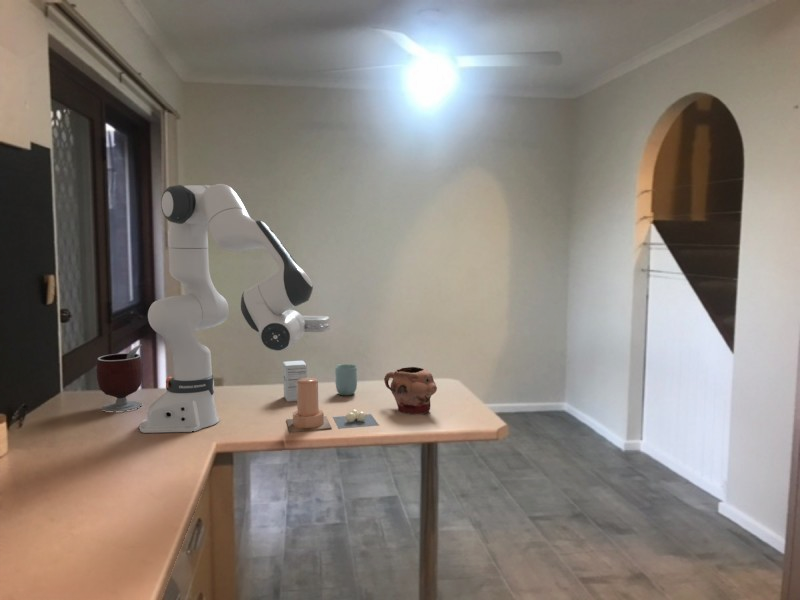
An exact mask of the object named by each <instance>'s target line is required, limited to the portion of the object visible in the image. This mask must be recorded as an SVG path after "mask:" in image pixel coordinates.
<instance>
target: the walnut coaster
mask: <svg viewBox="0 0 800 600" xmlns="http://www.w3.org/2000/svg"><path fill="white" fill-rule="evenodd" d="M286 423H287V424H286V425H287V428H288V432H289V433H301V432H302V433H304V432H315V431H328V430H332V426H331V423H330V421H329V418H328V417H327V416H324V424H322V425H321V426H318V427H314V428H298V427H295V426H293V418H288V419H287V418H286Z"/></svg>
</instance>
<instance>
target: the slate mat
mask: <svg viewBox="0 0 800 600" xmlns="http://www.w3.org/2000/svg"><path fill="white" fill-rule="evenodd" d="M365 414H366V413H365ZM332 419H333V420H334V423H335V426H337V429H339V430H340V429H351V428H362V427H363V428H365V427H374V426H380V424H379V422H377V420H376V419H375V417H374V416H373V415H372V413H368V414H366V419H365V420H364V421H362V422H359V421H358V420H357V419H355V421H354V422H351V423H350V422H348V421H347V420H346V415H341V416H332Z"/></svg>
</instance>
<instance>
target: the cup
mask: <svg viewBox="0 0 800 600" xmlns="http://www.w3.org/2000/svg"><path fill="white" fill-rule="evenodd" d="M334 368H335V369H334V376H335V377H334V378H335V379H334V381H335V382H334V383H335V389H336V392H337V393H338V394H339V395H341V396H351V395H354V394H355V392H356V390H357V387H358V366H357V365H355V364H349V363H348V364H338V365H336V366H335V367H334Z"/></svg>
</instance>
